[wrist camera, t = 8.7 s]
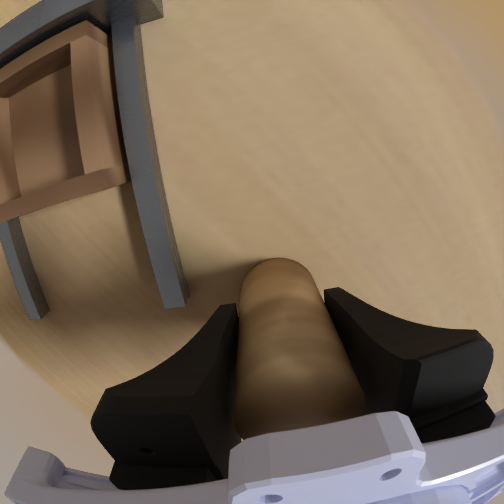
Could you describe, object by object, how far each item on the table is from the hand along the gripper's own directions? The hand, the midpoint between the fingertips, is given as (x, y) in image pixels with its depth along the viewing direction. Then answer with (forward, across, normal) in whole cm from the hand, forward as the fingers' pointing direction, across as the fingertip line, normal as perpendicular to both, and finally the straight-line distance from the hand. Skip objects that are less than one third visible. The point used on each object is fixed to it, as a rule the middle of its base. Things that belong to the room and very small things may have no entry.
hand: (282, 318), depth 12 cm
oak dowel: (+2, 0, 0) cm, 2 cm away
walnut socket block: (+2, +9, -10) cm, 13 cm away
